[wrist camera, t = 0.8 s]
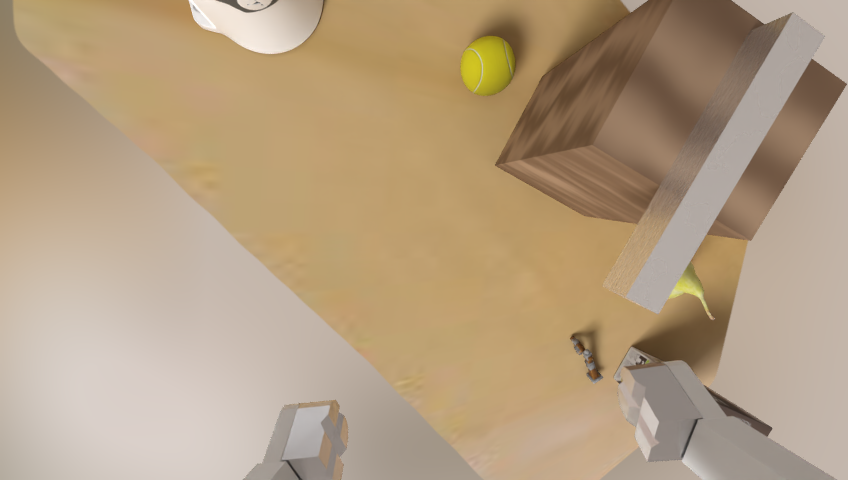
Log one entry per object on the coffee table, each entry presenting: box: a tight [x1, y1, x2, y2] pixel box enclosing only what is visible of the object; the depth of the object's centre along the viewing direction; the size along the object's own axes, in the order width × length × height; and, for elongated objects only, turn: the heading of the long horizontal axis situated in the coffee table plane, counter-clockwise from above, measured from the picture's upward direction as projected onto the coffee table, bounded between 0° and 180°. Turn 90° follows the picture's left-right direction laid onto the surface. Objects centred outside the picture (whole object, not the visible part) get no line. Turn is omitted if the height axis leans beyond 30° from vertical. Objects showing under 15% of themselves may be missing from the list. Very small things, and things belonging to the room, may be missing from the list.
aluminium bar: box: [602, 13, 825, 314], centre depth 27 cm, size 22×3×3 cm, turn 152°
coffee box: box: [614, 347, 772, 436], centre depth 53 cm, size 9×6×16 cm
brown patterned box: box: [495, 0, 847, 241], centre depth 41 cm, size 14×17×26 cm
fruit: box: [668, 261, 715, 320], centre depth 52 cm, size 7×8×12 cm
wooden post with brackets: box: [570, 336, 603, 383], centre depth 58 cm, size 2×8×4 cm, turn 32°
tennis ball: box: [460, 36, 515, 96], centre depth 48 cm, size 7×7×7 cm
